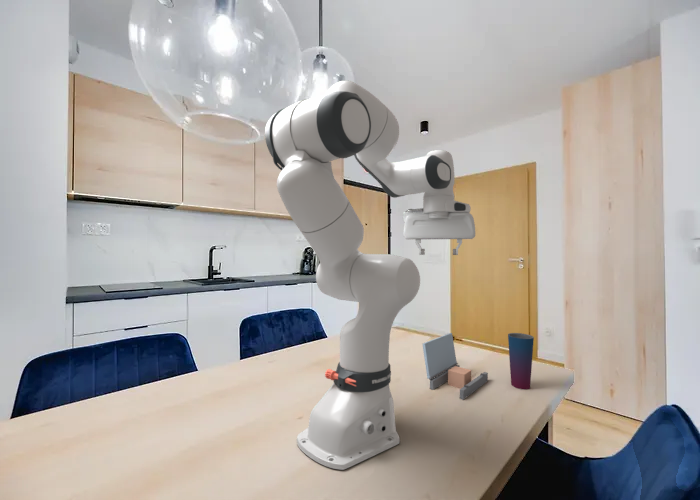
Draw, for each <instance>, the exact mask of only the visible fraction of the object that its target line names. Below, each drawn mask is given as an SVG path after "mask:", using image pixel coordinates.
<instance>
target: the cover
mask: <svg viewBox="0 0 700 500" xmlns="http://www.w3.org/2000/svg"><path fill="white" fill-rule="evenodd" d="M437 337H438V338H436V339H433V340H430V341H428V342H427V341H425V342H424V343H422V351H423V357H424V365H425V371H426V372H425V373H426V378H427V379H428V380H429V381H430V380H431V379H433V378H435V377H436V376H438V375H440V374H442V373H443V372H445V371H447V370H449V369H450V368H452V367H454V366H456V365H459V363H458V362H457V358H456V356H457V355H456V350H455V343H454V338H453V337H454V336H453V333H452V332H449V333H447V334H443V335H441V336H437Z"/></svg>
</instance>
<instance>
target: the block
mask: <svg viewBox="0 0 700 500" xmlns="http://www.w3.org/2000/svg"><path fill="white" fill-rule="evenodd" d="M471 381H472V370H471V369H468V368H464V367H461V366H460V367H457V366H455V367H453V368H451V369H449V370H448V381H447V385H448V386H451V387H454V388H457V389H459V390H460V389H461V388H462V387H464V385H467V384H468V383H470V382H471Z"/></svg>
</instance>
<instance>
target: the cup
mask: <svg viewBox="0 0 700 500" xmlns="http://www.w3.org/2000/svg"><path fill="white" fill-rule="evenodd" d="M534 339H535V337H534V336H533V335H531V334H529V333H528V334H527V333H522V332H521V333H520V332H510V333H507V340H508V354H509V355H508V356H509V372H510V385H511V386H512V387H513V388H515V389H519V390H530V389H531V382H532V381H531V379H532V367H533V366H532V364H533V356H534V341H535V340H534Z"/></svg>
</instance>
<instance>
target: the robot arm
mask: <svg viewBox="0 0 700 500" xmlns="http://www.w3.org/2000/svg"><path fill="white" fill-rule="evenodd" d="M399 136H400V126H399V121H398V120H397V118H396V116H395V115H394V113H393V112H392V111H391V110H390V108H388V107H387V106H386V105H385V104H384V103H383V102H382V101H381V100H380V99H379V98H378V97H376V96H375V94H373V93H371V91H368V89H366V88H364V87H363V86H361V85H359V84H358V83H355V82H354V81H351V80H341V81H338V82H336V83H334V84H333V85H331V86H330V88H328V89H327V91H326V92H325V94H324V95H320V96H316V97H312V98H305V99H302V100H299V101H297V102H295V103H293V104H290V105H289V106H287V107H285V108H281V109H279V110H278V111H276V112H275V113H274V114H272V116H271V117H270V118H269V119H268V121H267V122H266V125H265V129H264V137H265V139H264V140H265V143H266V144H265V145H266V147H267V149H268V151H269V154H270V156H271V157H272V160H273V161H272V162H273V164H274V165H275V166H276V167H277V168H278V170H280V172H279V174H278V177H277V179H276V188H277V192H278V194H279V196H280V198H281V201H282V203H283V205H284V207H285V209H286V211H287V213H288V214H289V216H290V218H291V219H292V221H293V223H294V224H295V226H296V227H297V228H298V230H299V231H300V232H301V234H302V235H303V237H304V238H305V240H306V241H307V242H308V244H309V245H310V247H311V248H312V250H313V252H314V253H315V254H316V256H317V259H318V261H319V264H318V266H317V267H316V272H315V273H316V274H315V281H316V284H317V285H316V286H317V287H318V289H319V291H320V292H321V293H323V294H324V295H326V296H329V297H331V298H334V299H337V300H339V301H340V300H341V301H345V302H346V301H348V302H355V303H358V311H357V315H356V316H355V318H352V319H350V320H348V321H347V322H346V323H345V324H344V325H342V328H341V330H340V332H339V362H338V363H337V366H336V368H335V369H336V370H333V369H331V368H327V369H326V371H325V374H324V377H325V379H328V380H330V381H333V383H332V385H331V386H330V387H329V388H328V390H327V391H326V392H325V393H324V394H323V396H322V397H321V398H320V400H319V401H318V402H317V403H316V404H315V406H314V407H313V408H312V409H311V412H310V414H309V418H308V419H309V421H308V427H306V428H305V429H304V430H302V431H301V432H299V433H298V434H297V435H296V436H297V437H296V443H297V446H298V448H299V450H301V452H303V453H304V454H305V455H306V456H307V457H308V458H310V459H311V460H313V461H315V462H316V463H318V464H320V465H322V466H325V467H327V468H330V469H334V470H342V471H343V470H346V469H349V468H351V467H353V466H355V465H357V464H359V463H362V462H363V461H366V460H367V459H370V458H372V457H374V456H376V455H378V454H380V453H382V452H385V451H387V450H389V449H391V448H393V447H395V446H397V445H398V444H400V442H401V441H400V440H401V439H400V436H399V434H398V431H397V428H396V426H397V425H396V417H395V405H394V399H393V396H392V392H391V389H390V383H391V381H392V379H391V376H392V370H391V369H392V368H391V363H390V362H389V359H390V357H389V355H390V354H389V353H390V338H391V337H390V336H391V330H392V326H393V325H394V322H395V319H396V317H397V316H398V314H399V313H400V311H401V310H403V308H404V307H406V306H407V305H408V304H409V303H411V302H412V301H413V300H414V299H415V297H416V296H417V295H418V293H419V290H420V286H421V275H420V272H419V269H418V267H417V265H416V263H415V262H414V261H413V260H412V259H410V258H408V257H403V256H399V255H395V254H389V253H388V254H386V253H385V254H384V253H381V254H380V253H363V252H362V251H360V250H359V248H360V247H361V246H362V243H363V241H364V234H365V231H364V230H365V229H364V225H363V223H362V222H361V220H360V218H359V216H358V214H357V213H356V211H355V209H354V207H353V205H352V204H351V202H350V201H349V198H348V197H347V195H346V193H345V192H344V190H343V189H342V186H340V184H339V183H338V181H337V179H335V176H334V172H333V167H332V166H333V165H332V161H336V160H339V159H348V158H349V157H354V158H355V160H356V162H357V163H358V165H360V166H361V168H363V169H364V170H365V171H366V172H367V173H368V174H369V175H370V176H371V177H372V178H373V179H375V180H376V181H377V182H378V183H379V185H380V186H381V187H382V190H383V191H384V192H385V193H386V194H387V195H388V196H389V197H391V198H394V199H396V198H401V197H404V196H409V195H416V194H421V193H424V194H423V197H422V198H423V199H422V200H423V202H422V203H423V205H422V206H423V207H421V208H409V209H406V211H404V212H403V215H402V216H403V217H402V221H403V223H404V225H403V237H404V238H405V240H414V241H415V245H416V246H417V248H418V255H419V256H422V255H423V256H425V253H426V250H425V248H422V246H421V243H422V240H456V244H457V246H456V247H455V248H452V256H459V249H460V247H461V245H462V243H463V240H473V239H475V237H476V224H475V220H474V216H473V214H471V210H472V209H471V204H469V203H466V202H462V201H458V200H455V194H454V185H455V167H454V164H455V163H454V160H453V155H452V154H451V152H449V151H446V150H444V149H433V150H431V151H428V152H427V154H426V155H423V156H420V157H419V156H418V157H416V158H411V159H406V160H401V161H395V162H393V161H389V160H388V159H387V158H388V157H389V156H390V155H391V154H392V152H393V151H394V149H395V148H396V146H397V144H398V140H399Z"/></svg>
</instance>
